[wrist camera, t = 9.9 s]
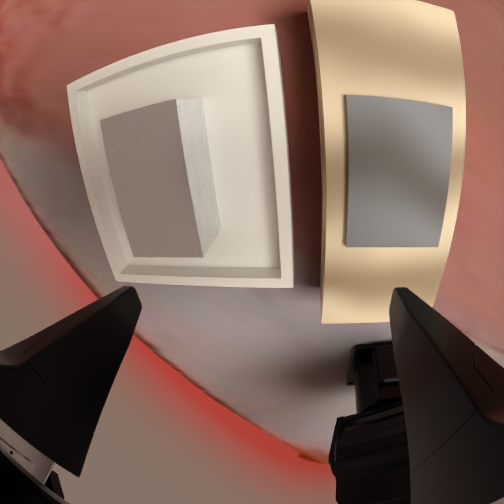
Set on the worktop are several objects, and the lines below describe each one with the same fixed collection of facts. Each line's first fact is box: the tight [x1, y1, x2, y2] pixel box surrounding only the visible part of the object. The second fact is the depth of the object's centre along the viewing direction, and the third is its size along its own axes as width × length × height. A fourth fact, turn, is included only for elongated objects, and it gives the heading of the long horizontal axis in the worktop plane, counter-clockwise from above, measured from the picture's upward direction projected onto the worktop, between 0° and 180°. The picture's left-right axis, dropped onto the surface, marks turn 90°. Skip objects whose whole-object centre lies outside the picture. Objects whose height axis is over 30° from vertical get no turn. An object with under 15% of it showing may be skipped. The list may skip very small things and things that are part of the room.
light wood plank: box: [307, 0, 466, 323], centre depth 14 cm, size 20×8×4 cm, turn 6°
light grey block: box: [100, 98, 221, 258], centre depth 16 cm, size 9×5×4 cm, turn 6°
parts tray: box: [67, 24, 294, 288], centre depth 18 cm, size 17×15×2 cm
